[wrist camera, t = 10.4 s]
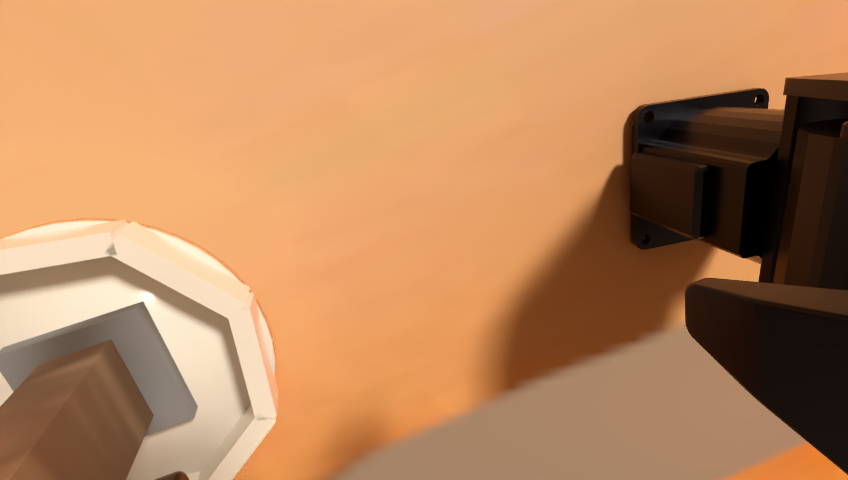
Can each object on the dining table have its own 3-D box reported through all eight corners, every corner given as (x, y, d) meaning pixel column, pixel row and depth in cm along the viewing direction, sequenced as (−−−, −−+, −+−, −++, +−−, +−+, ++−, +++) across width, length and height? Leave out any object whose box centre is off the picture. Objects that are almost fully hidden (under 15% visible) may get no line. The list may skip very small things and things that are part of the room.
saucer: (237, 192, 19) (230, 206, 17) (301, 455, 23) (301, 492, 21) (-145, 253, 17) (-205, 276, 15) (-3, 532, 21) (-35, 581, 19)
